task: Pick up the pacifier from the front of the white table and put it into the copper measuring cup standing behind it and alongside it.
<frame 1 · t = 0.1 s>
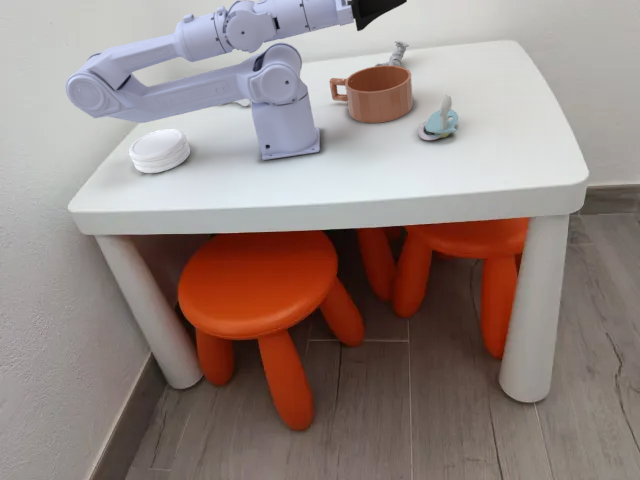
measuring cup: (380, 107, 90), on the table
white round disc: (164, 160, 89), on the table
soldier figure: (393, 71, 102), on the table
pacifier: (437, 133, 80), on the table
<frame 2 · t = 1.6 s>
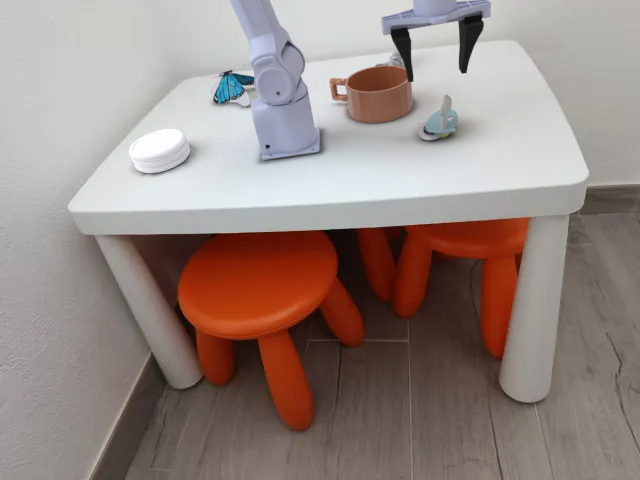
hand: (436, 75, 74), 9 cm above the table, tool pointing down, fingers open, 7 cm apart
nothing on the table moved.
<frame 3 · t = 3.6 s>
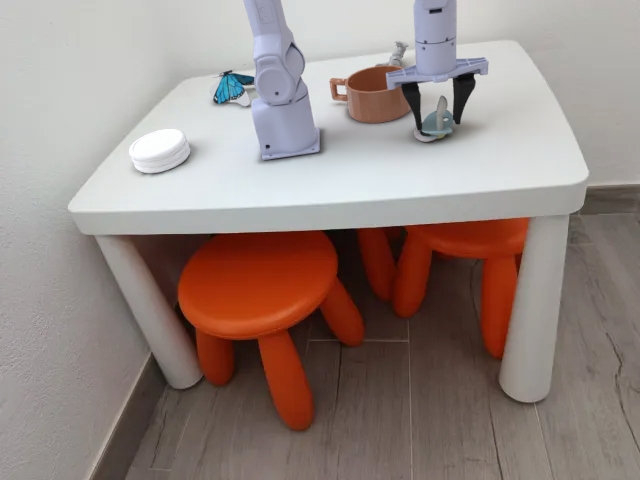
hand: (437, 124, 79), 1 cm above the table, tool pointing down, fingers closed on pacifier, 5 cm apart
pacifier: (433, 134, 80), on the table, touching gripper
everything else where it was.
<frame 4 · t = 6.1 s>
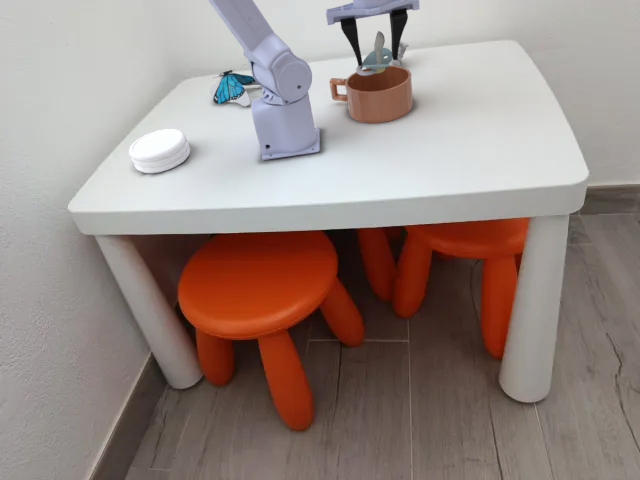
hand: (377, 60, 85), 9 cm above the table, tool pointing down, fingers closed on pacifier, 5 cm apart
pacifier: (374, 71, 86), point 7 cm above the table, touching gripper
everything else where it was.
when the fingers open (2 cm above the table, at t = 8.6 s): pacifier stays where it is, resting on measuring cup.
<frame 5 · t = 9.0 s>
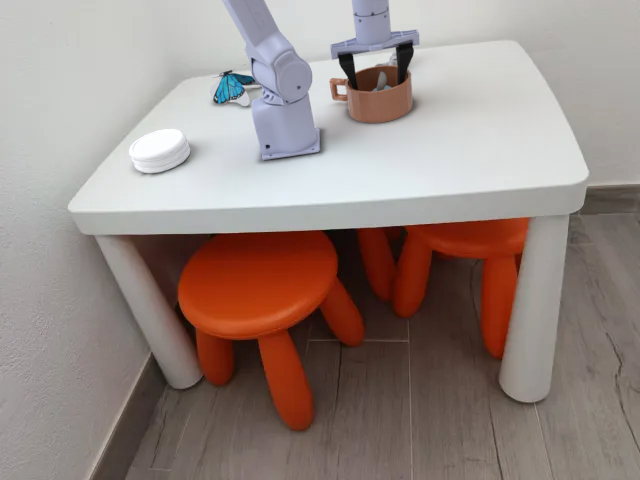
hand: (378, 91, 88), 3 cm above the table, tool pointing down, fingers open, 7 cm apart
pacifier: (376, 107, 90), resting on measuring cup
everything else where it was.
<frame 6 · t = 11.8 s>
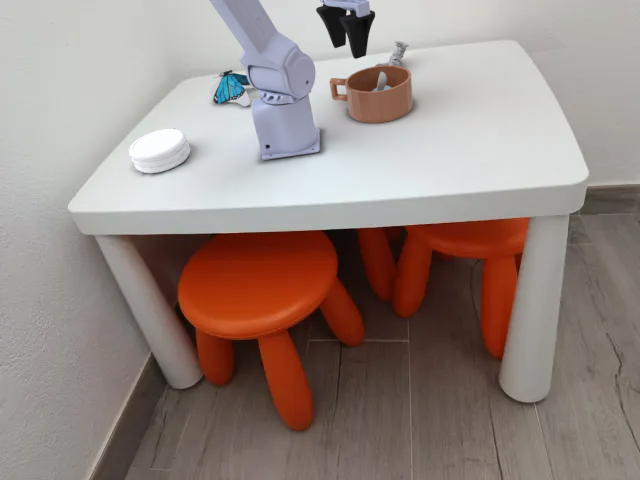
hand: (349, 51, 88), 9 cm above the table, tool pointing down, fingers open, 7 cm apart
nothing on the table moved.
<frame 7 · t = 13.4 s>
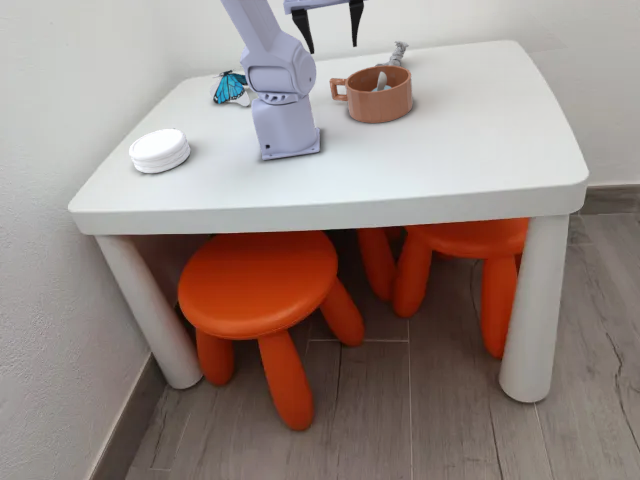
hand: (333, 48, 91), 9 cm above the table, tool pointing down, fingers open, 7 cm apart
nothing on the table moved.
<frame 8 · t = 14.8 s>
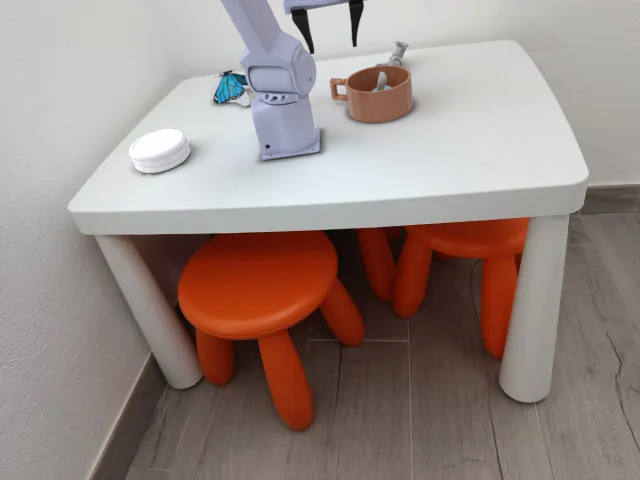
hand: (333, 48, 91), 9 cm above the table, tool pointing down, fingers open, 7 cm apart
nothing on the table moved.
at the end: pacifier inside the target area in the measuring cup (0.7 cm from its centre), point 0.2 cm above the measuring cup's base; the gripper is holding nothing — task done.
